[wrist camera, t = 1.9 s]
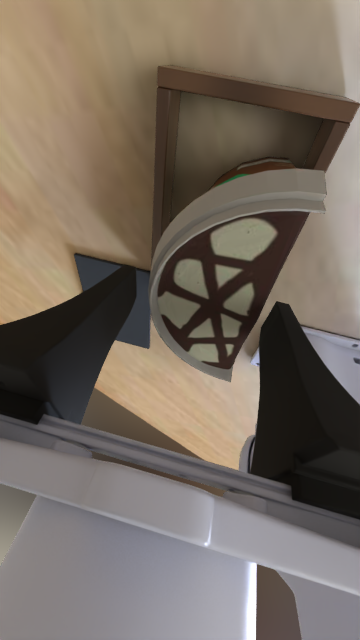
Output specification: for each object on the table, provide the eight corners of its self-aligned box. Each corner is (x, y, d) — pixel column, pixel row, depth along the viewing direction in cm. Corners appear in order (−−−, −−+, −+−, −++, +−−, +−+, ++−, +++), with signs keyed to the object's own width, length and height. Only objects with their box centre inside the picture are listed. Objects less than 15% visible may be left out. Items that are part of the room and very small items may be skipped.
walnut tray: (347, 97, 12) (361, 103, 11) (248, 306, 24) (247, 325, 22) (170, 64, 13) (157, 65, 11) (157, 284, 24) (149, 300, 23)
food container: (193, 109, 14) (132, 153, 7) (300, 127, 13) (336, 192, 7) (175, 276, 23) (140, 363, 17) (238, 291, 23) (228, 386, 16)
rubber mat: (152, 271, 23) (151, 273, 23) (149, 347, 33) (148, 349, 33) (75, 253, 24) (73, 254, 24) (94, 332, 34) (93, 334, 33)
